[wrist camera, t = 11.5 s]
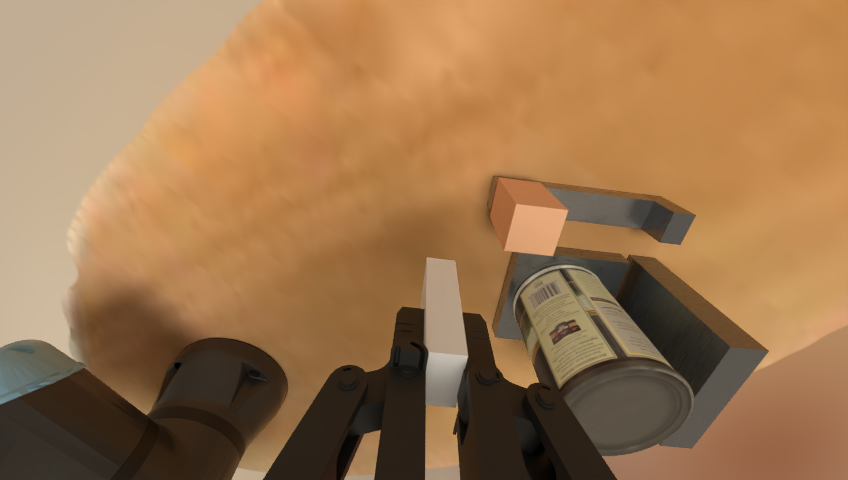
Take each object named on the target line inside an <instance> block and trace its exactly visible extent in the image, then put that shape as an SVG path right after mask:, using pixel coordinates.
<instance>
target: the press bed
mask: <svg viewBox="0 0 848 480" xmlns="http://www.w3.org/2000/svg"><path fill="white" fill-rule="evenodd" d="M556 265H575V266H580V267H583V268H585V269H587V270H589V271H591V272H592V273H594V274H595V275H596V276H597V277H598V278H599V280H600V281H601V283H602V284H603V286H604V287H605V288H606V289H607V290H608V291H609V293H610V294H611V295H612V296H613V297H614V299H615V300H616V301H617V302H618V303H619V305H620V306H621V307H622V308H623V309H624V311H625V312H626V313H627V314H628V315H629V316H630V318H631V319H632V320H633V321H634V322H635V324H636V325H637V326H638V327H639V328H640V330H641V331H642V332H643V333H644V334H645V336H646V337H647V338H648V339H649V340H650V342H651V343H652V344H653V345H654V346H655V347H656V349H657V350H658V351H659V352H660V353H661V355H662V356H663V357H664V358H665V359H666V361H667V362H668V363H669V364H670V365H671V366H672V368H673V369H674V370H675V371H677V372H678V373H679V374H680V375H681V376H682V377H683V378H684V379H685V380H686V381H687V382H688V384H689V385H690V387H691V389H692V391H693V394H694V407H693V410H692V413H691V415H690V416H689V418H688V420H687V421H686V423H685V424H684V425H683V426H682V427H681V428H680V429H679V430H678V431H677V432H676V433H674V434H673V435H672V436H670V437H669V438H667V439H666V440H664V441H662V442H660V443H659V445H660V446H670V447H682V448H693V446H694V445H695V444H696V443H697V441H698V440H699V439H700V438H701V436H702V435H703V434H704V433H705V431H706V430H707V429H708V427H709V426H710V425H711V423H712V422H713V421H714V420H715V419H716V417H717V416H718V415H719V414H720V412H721V411H722V410H723V408H724V407H725V406H726V405H727V403H728V402H729V401H730V400H731V398H732V397H733V396H734V395H735V393H736V392H737V391H738V390H739V388H740V387H741V386H742V385H743V383H744V382H745V381H746V379H747V378H748V377H749V376H750V374H751V373H752V372H753V371H754V369H755V368H756V367H757V366H758V364H759V363H760V362H761V361H762V359H763V358H764V357H765V356H766V354H767V353H768V352H769V351H768V350H767V349H766V348H764V347H763V346H762V345H761V344H760V343H758V342H757V341H756V340H755V339H753V338H752V337H751V336H750V335H749V334H747V333H746V332H745V331H744V330H742V329H741V328H740V327H739V326H738V325H736V324H735V323H734V322H733V321H731V320H730V319H729V318H728V317H727V316H725V315H724V314H723V313H722V312H720V311H719V310H718V309H717V308H715V307H714V306H713V305H712V304H711V303H709V302H708V301H707V300H706V299H704V298H703V297H702V296H701V295H700V294H698V293H697V292H696V291H695V290H693V289H692V288H691V287H690V286H689V285H687V284H686V283H685V282H684V281H682V280H681V279H680V278H679V277H678V276H676V275H675V274H674V273H673V272H671V271H670V270H669V269H668V268H667V267H665V266H664V265H663V264H662V263H660V262H659V261H658V260H657V259H656V258H650V257H642V256H633V255H629V257H628V259H627V260H626V259H625V258H624V257H623V256H622V255H621V254H615V253H607V252H598V251H589V250H580V249H572V248H563V247H556V249H555V251H554V254H553V256H547V255H538V254H529V253H520V252H512V256H511V260H510V263H509V267H508V271H507V274H506V278H505V281H504V285H503V289H502V292H501V296H500V300H499V303H498V307H497V311H496V314H495V318H494V321H493V325H492V327H493V331H494V335H495V337H498V338H508V339H518V340H524V339H523V336H522V333H521V331H520V328H519V325H518V323H517V321H516V319H515V317H514V313H513V301H514V298H515V295H516V293H517V291H518V289H519V288H520V287H521V285H522V284H523V283H524V282H525V281H526V280H527V279H528V278H529V277H531V276H532V275H534V274H535V273H537V272H539V271H541V270H543V269H545V268H548V267H552V266H556Z"/></svg>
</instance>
